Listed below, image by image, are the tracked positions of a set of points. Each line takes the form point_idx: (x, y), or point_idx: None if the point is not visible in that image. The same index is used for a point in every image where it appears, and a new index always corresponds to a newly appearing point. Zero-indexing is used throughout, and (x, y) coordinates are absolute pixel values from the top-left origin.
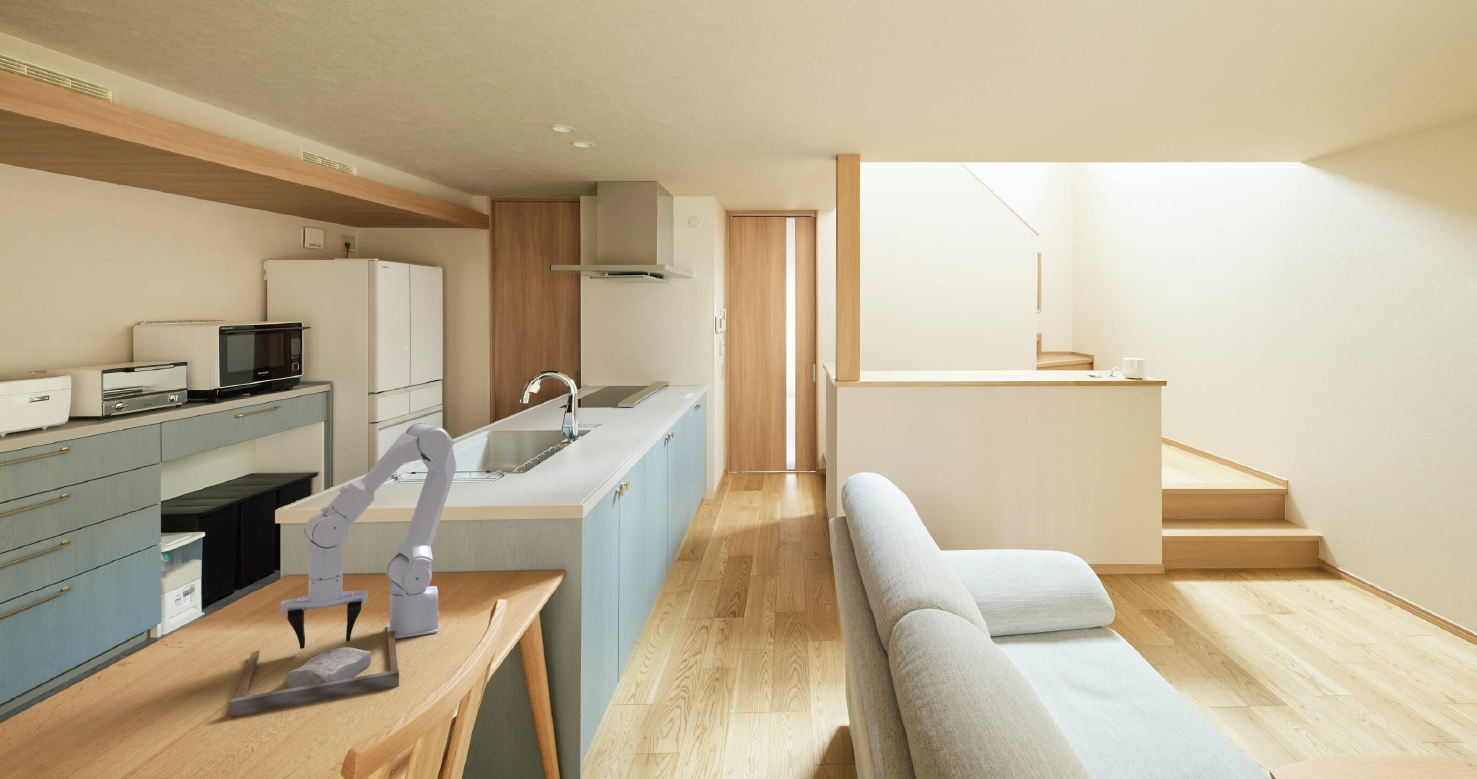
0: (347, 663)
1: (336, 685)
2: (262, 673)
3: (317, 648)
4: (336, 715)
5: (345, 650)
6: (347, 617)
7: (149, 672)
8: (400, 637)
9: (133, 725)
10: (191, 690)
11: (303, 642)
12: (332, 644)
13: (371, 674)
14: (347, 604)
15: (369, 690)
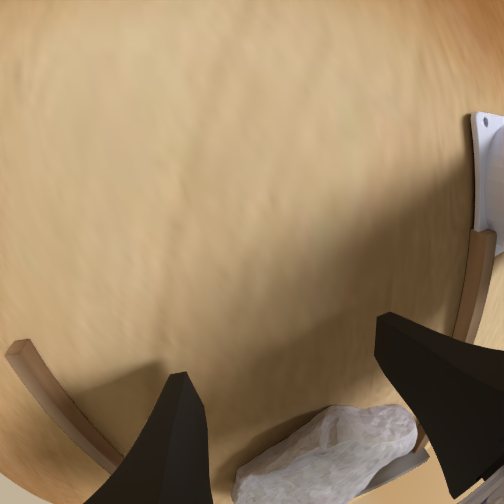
0: (364, 488)
1: None
2: (125, 440)
3: (229, 302)
4: None
5: (369, 460)
6: (439, 461)
7: None
8: None
9: (62, 491)
10: (39, 450)
11: (205, 436)
12: (293, 263)
13: (392, 478)
14: (496, 461)
15: None
